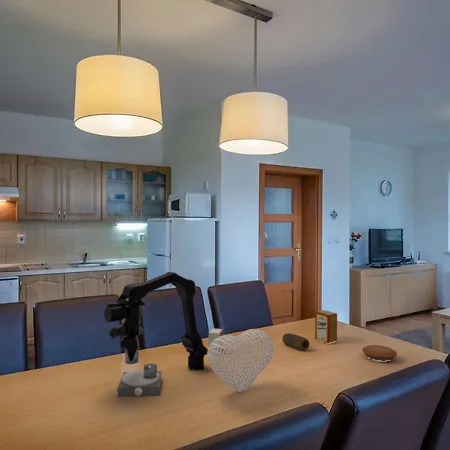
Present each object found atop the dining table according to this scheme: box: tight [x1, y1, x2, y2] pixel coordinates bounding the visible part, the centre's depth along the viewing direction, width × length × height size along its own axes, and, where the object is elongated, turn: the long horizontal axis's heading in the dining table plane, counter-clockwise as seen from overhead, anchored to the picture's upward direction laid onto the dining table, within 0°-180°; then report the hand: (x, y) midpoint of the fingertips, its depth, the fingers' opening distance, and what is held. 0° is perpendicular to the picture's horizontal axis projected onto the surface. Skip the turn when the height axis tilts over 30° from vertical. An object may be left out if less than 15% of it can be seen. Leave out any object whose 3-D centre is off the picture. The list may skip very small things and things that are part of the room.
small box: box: [207, 328, 224, 356], centre depth 194 cm, size 8×6×10 cm
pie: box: [361, 344, 398, 361], centre depth 188 cm, size 15×16×5 cm
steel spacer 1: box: [124, 349, 140, 365], centre depth 152 cm, size 5×5×4 cm
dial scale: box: [117, 369, 163, 397], centre depth 152 cm, size 15×16×4 cm
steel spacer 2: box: [143, 363, 158, 379], centre depth 153 cm, size 5×5×4 cm
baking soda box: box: [314, 309, 338, 343], centre depth 215 cm, size 10×6×16 cm
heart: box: [207, 328, 275, 393], centre depth 149 cm, size 28×16×22 cm, turn 130°
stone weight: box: [281, 332, 310, 351], centre depth 203 cm, size 15×7×7 cm, turn 38°
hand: (132, 358), depth 152 cm, fingers closed on steel spacer 1, 5 cm apart
